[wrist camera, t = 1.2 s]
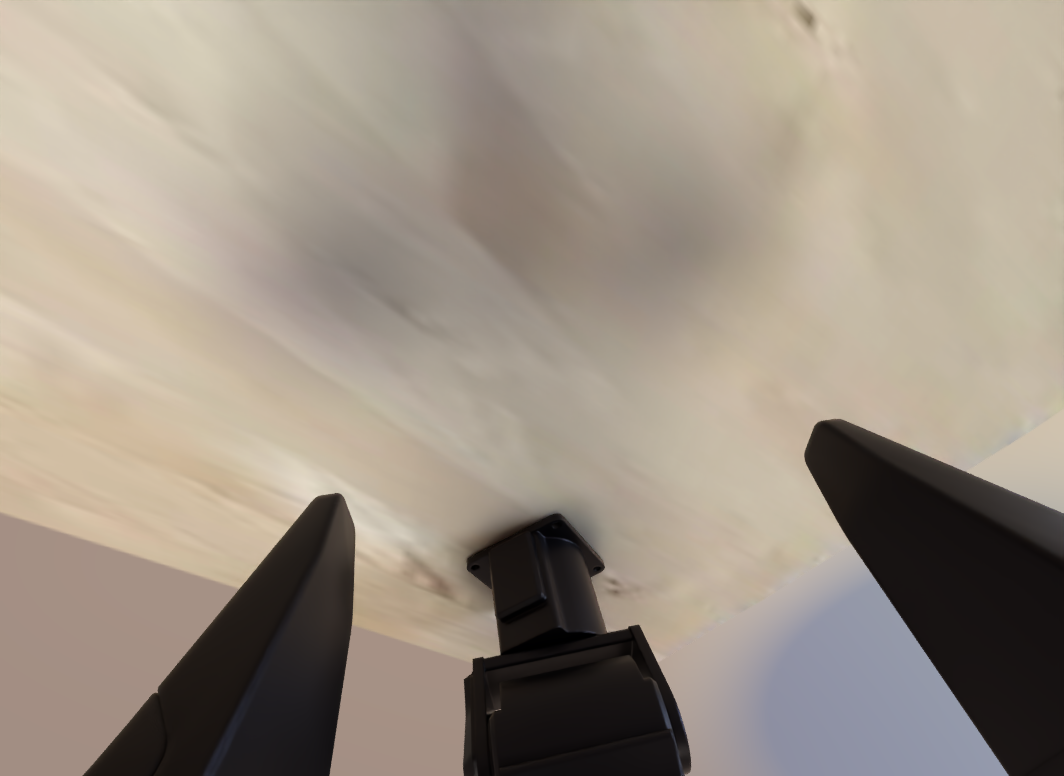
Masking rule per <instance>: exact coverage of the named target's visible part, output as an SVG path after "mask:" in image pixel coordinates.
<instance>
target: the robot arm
mask: <svg viewBox="0 0 1064 776" xmlns="http://www.w3.org/2000/svg"><path fill="white" fill-rule="evenodd" d="M804 457H805V462H806V465H807V467H808V468H809V470H810V472H811V474H812V476H813V478H814V479H815V481H816V483H817V485H818V487H819V489H820V490H821V492H822V494H823V496H824V498H825V500H826V501H827V503H828V505H829V507H830V509H831V511H832V512H833V514H834V516H835V518H836V520H837V522H838V523H839V525H840V527H841V528H842V530H843V532H844V533H845V535H846V537H847V538H848V540H849V541H850V543H851V544H852V546H853V547H854V549H855V550H856V552H857V553H858V554H859V556H860V557H861V559H862V560H863V562H864V563H865V565H866V566H867V568H868V569H869V571H870V572H871V573H872V575H873V577H874V578H875V579H876V581H877V582H878V584H879V585H880V587H881V588H882V590H883V591H884V593H885V594H886V596H887V597H888V598H889V600H890V602H891V603H892V604H893V606H894V607H895V608H896V610H897V612H898V613H899V615H900V616H901V618H902V619H903V621H904V622H905V623H906V625H907V627H908V628H909V629H910V631H911V632H912V634H913V635H914V637H915V638H916V640H917V641H918V643H919V644H920V646H921V647H922V649H923V650H924V652H925V653H926V654H927V656H928V657H929V659H930V660H931V662H932V663H933V665H934V666H935V668H936V669H937V671H938V672H939V674H940V675H941V676H942V678H943V679H944V681H945V682H946V684H947V685H948V687H949V688H950V690H951V691H952V693H953V694H954V695H955V697H956V698H957V700H958V701H959V703H960V704H961V706H962V707H963V709H964V710H965V712H966V713H967V714H968V716H969V718H970V719H971V720H972V722H973V724H974V725H975V726H976V728H977V729H978V731H979V732H980V734H981V735H982V737H983V738H984V740H985V741H986V743H987V744H988V745H989V747H990V748H991V750H992V751H993V753H994V754H995V756H996V757H997V759H998V760H999V762H1000V763H1001V765H1002V766H1003V768H1004V769H1005V771H1006V772H1007V774H1008V775H1009V776H1064V513H1061V512H1059V511H1056V510H1054V509H1051V508H1049V507H1047V506H1045V505H1042V504H1040V503H1038V502H1035V501H1033V500H1030V499H1028V498H1026V497H1023V496H1021V495H1019V494H1016V493H1014V492H1012V491H1009V490H1007V489H1004V488H1002V487H1000V486H998V485H995V484H993V483H990V482H988V481H986V480H983V479H981V478H979V477H976V476H974V475H972V474H969V473H967V472H965V471H962V470H960V469H957V468H955V467H953V466H950V465H948V464H946V463H943V462H941V461H939V460H936V459H934V458H932V457H929V456H927V455H925V454H922V453H920V452H917V451H915V450H913V449H910V448H908V447H906V446H903V445H901V444H899V443H896V442H894V441H892V440H889V439H887V438H885V437H882V436H880V435H877V434H875V433H873V432H870V431H868V430H866V429H863V428H861V427H859V426H856V425H854V424H852V423H849V422H847V421H844V420H842V419H831V420H825V421H820V422H818V423H817V424H816V425H815V426H814V429H813V431H812V434H811V436H810V439H809V442H808V444H807V447H806V450H805V454H804ZM354 562H355V527H354V523H353V520H352V518H351V515H350V512H349V510H348V507H347V504H346V502H345V499H344V497H343V496H342V494H339V493H335V494H328V495H321V496H318V497H316V498H315V499H314V500H313V501H312V502H311V503H310V504H309V506H308V507H307V508H306V509H305V510H304V512H303V513H302V514H301V515H300V517H299V518H298V519H297V520H296V521H295V523H294V524H293V525H292V526H291V527H290V529H289V530H288V531H287V532H286V533H285V535H284V536H283V537H282V538H281V540H280V541H279V542H278V543H277V544H276V546H275V547H274V548H273V549H272V550H271V552H270V553H269V554H268V555H267V556H266V558H265V559H264V560H263V561H262V562H261V564H260V565H259V566H258V567H257V569H256V570H255V571H254V572H253V573H252V575H251V576H250V577H249V578H248V579H247V581H246V582H245V583H244V584H243V585H242V587H241V588H240V589H239V590H238V591H237V593H236V594H235V595H234V596H233V598H232V599H231V600H230V601H229V602H228V604H227V605H226V606H225V607H224V608H223V610H222V611H221V612H220V613H219V614H218V616H217V617H216V618H215V619H214V620H213V622H212V623H211V624H210V625H209V627H208V628H207V629H206V630H205V631H204V633H203V634H202V635H201V636H200V638H199V639H198V640H197V641H196V642H195V643H194V645H193V646H192V647H191V649H190V650H189V651H188V652H187V653H186V654H185V656H184V657H183V658H182V659H181V660H180V662H179V663H178V664H177V665H176V666H175V668H174V669H173V670H172V671H171V672H170V674H169V675H168V676H167V677H166V679H165V680H164V681H163V682H162V683H161V685H160V686H159V687H158V693H154V694H152V695H151V696H150V698H149V699H148V700H147V701H146V703H145V704H144V705H143V706H142V707H141V708H140V710H139V711H138V712H137V713H136V714H135V716H134V717H133V718H132V719H131V720H130V722H129V723H128V724H127V726H125V728H124V729H123V730H122V731H121V732H120V733H119V735H118V736H117V737H116V738H115V739H114V740H113V742H112V743H111V744H110V745H109V746H108V747H107V749H106V750H105V751H104V752H103V753H102V754H101V756H100V757H99V758H98V759H97V760H96V761H95V763H94V764H93V765H92V766H91V767H90V768H89V769H88V770H87V771H86V773H85V774H84V775H83V776H329V774H330V768H331V761H332V755H333V748H334V741H335V735H336V728H337V720H338V715H339V708H340V701H341V694H342V688H343V681H344V675H345V668H346V661H347V654H348V648H349V641H350V635H351V627H352V617H353V593H354ZM604 568H605V566H604V563H603V561H602V559H601V558H600V557H599V556H598V555H597V554H596V552H595V551H594V550H593V549H592V548H591V547H590V546H589V545H588V543H587V542H586V541H585V540H584V539H583V538H582V537H581V536H580V535H579V533H578V532H577V531H576V530H575V529H574V528H573V527H572V526H571V525H570V523H569V522H568V521H567V520H566V519H565V518H564V517H563V516H562V515H561V514H553V515H551V516H549V517H547V518H545V519H543V520H541V521H539V522H537V523H535V524H533V525H531V526H530V527H528V528H526V529H524V530H522V531H520V532H518V533H516V534H514V535H512V536H510V537H508V538H507V539H505V540H503V541H501V542H499V543H497V544H495V545H493V546H491V547H489V548H487V549H486V550H484V551H482V552H480V553H478V554H476V555H474V556H472V557H470V558H469V559H468V560H467V570H468V571H469V572H470V573H472V574H473V575H474V576H475V577H477V578H478V579H479V580H481V581H482V582H483V583H484V584H486V585H487V586H488V587H489V588H491V589H492V592H493V600H494V609H495V616H496V620H497V628H498V637H499V645H500V653H501V655H499V656H494V657H490V658H485V659H484V658H483V657H480V658H475V659H473V672H472V674H471V675H469V676H468V677H467V678H465V679H464V689H465V708H466V722H465V741H464V759H463V771H464V776H685V774H688V773H689V772H690V770H691V757H690V750H689V745H688V740H687V735H686V732H685V728H684V724H683V721H682V718H681V715H680V712H679V709H678V706H677V703H676V701H675V698H674V696H673V694H672V692H671V690H670V687H669V685H668V683H667V681H666V679H665V677H664V675H663V673H662V671H661V669H660V667H659V665H658V663H657V661H656V659H655V656H654V654H653V652H652V650H651V648H650V646H649V644H648V642H647V640H646V638H645V636H644V634H643V632H642V630H641V628H640V626H639V625H634V626H629V627H628V629H624V630H619V631H614V632H610V633H607V631H606V628H605V624H604V621H603V618H602V614H601V611H600V608H599V604H598V601H597V598H596V595H595V591H594V588H593V585H592V581H591V578H590V577H592V576H594V575H596V574H598V573H600V572H602V571H603V570H604ZM499 709H501V710H499ZM495 710H498V711H495Z"/></svg>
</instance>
